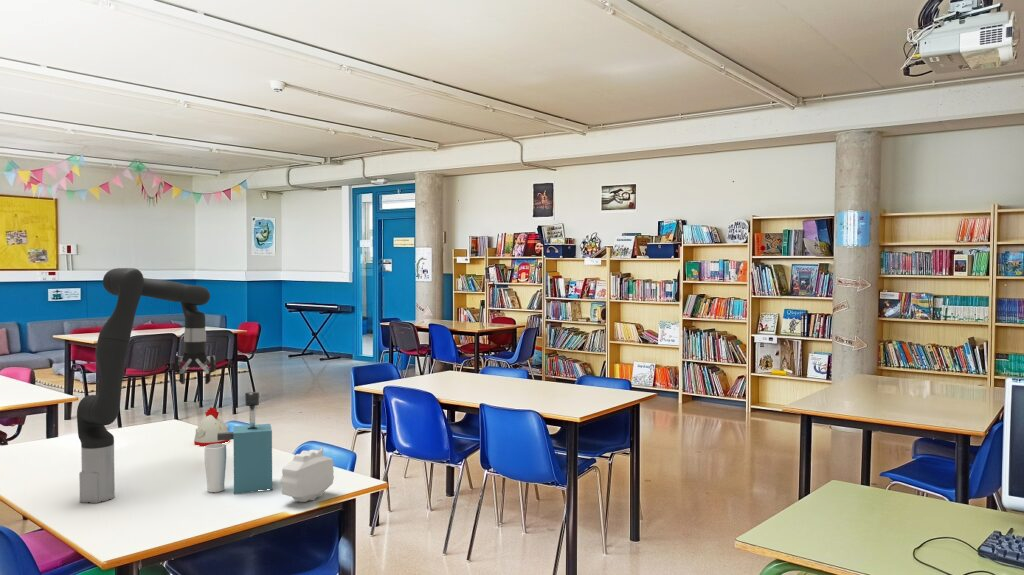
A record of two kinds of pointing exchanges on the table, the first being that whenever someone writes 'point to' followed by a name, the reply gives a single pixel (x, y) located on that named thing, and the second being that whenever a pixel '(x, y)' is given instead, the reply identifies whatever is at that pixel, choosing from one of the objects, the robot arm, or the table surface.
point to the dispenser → (251, 457)
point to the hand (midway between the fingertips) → (195, 383)
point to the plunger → (252, 406)
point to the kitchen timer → (210, 429)
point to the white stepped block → (307, 475)
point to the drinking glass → (215, 466)
